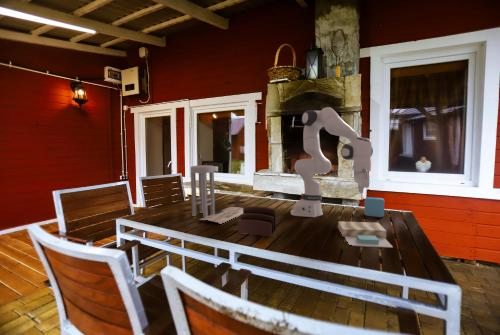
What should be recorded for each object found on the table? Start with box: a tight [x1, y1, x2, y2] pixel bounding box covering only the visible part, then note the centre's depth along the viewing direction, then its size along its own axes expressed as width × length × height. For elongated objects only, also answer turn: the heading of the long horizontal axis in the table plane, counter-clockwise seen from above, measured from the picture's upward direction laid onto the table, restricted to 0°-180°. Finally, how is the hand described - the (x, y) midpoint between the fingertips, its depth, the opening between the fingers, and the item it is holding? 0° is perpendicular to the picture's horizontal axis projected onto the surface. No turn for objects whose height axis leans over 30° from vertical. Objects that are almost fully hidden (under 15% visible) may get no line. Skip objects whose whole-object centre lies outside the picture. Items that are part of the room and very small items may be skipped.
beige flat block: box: [337, 220, 387, 239], centre depth 149 cm, size 22×14×4 cm, turn 80°
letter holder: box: [237, 206, 277, 238], centre depth 151 cm, size 10×20×14 cm, turn 70°
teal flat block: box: [357, 235, 379, 244], centre depth 135 cm, size 9×6×2 cm, turn 81°
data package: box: [363, 196, 385, 218], centre depth 182 cm, size 12×4×12 cm, turn 63°
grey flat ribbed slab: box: [198, 206, 244, 225], centre depth 185 cm, size 37×19×3 cm, turn 151°
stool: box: [190, 164, 216, 218], centre depth 187 cm, size 16×16×35 cm
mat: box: [344, 236, 394, 249], centre depth 135 cm, size 20×12×1 cm, turn 80°
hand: (360, 192), depth 148 cm, fingers closed
